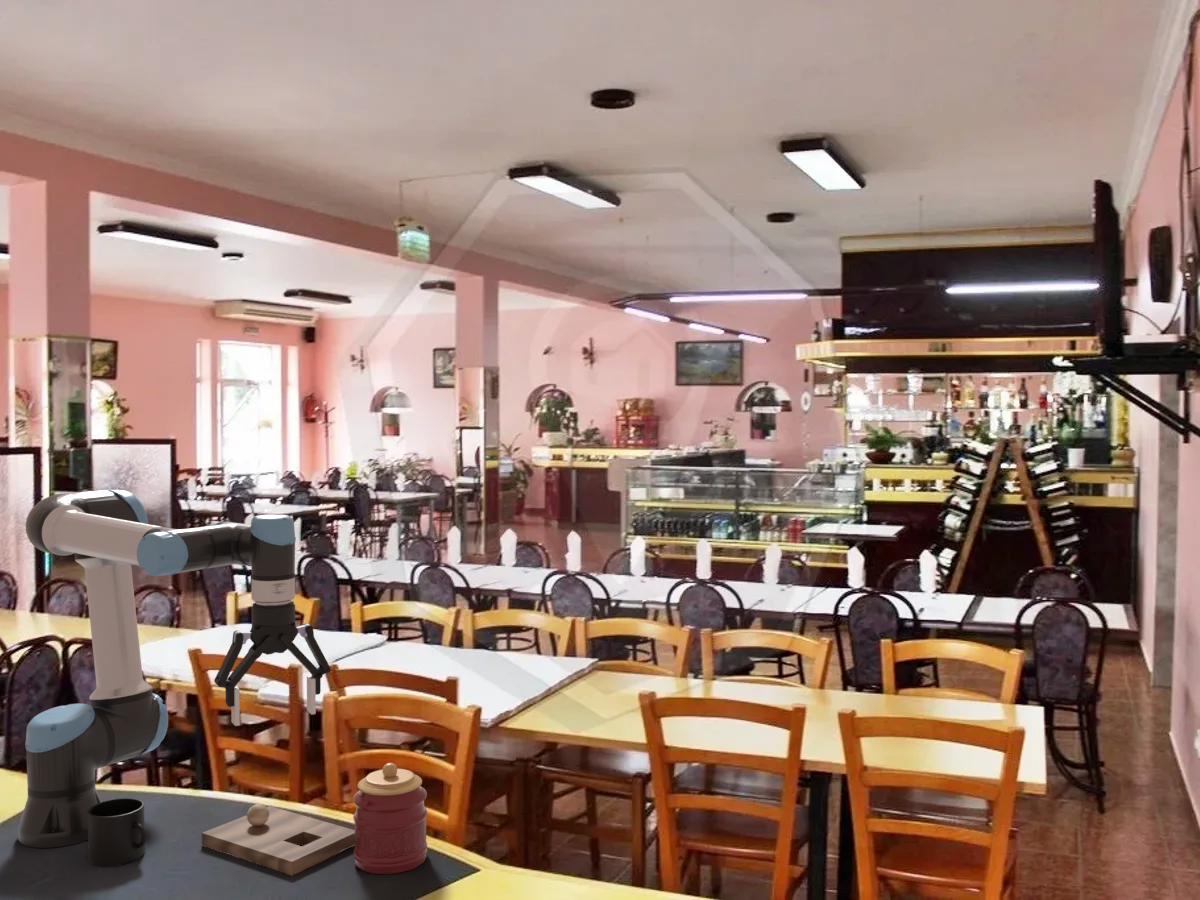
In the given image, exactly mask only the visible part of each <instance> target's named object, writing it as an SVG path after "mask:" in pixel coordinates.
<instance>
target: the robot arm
mask: <svg viewBox="0 0 1200 900" xmlns="http://www.w3.org/2000/svg"><path fill="white" fill-rule="evenodd" d="M25 532H26V533H25V534H26V536H27V538H28V540H29V542H30V544H31V545H32V546H34V547H35V548H36V549H38V550H39V551H41V552H43V553H46V554H50V555H51V554H52V555H56V556H61V557H62V556H63V557H64V556H65V557H66V556H71V555H73V554H74V561H75V562H76V563H77V564H78V565H80V566H82V567H83V568H84V574H85V586H86V596H87V605H88V614H89V624H90V625H89V626H90V634H91V643H92V652H93V662H94V672H95V674H94V675H95V682H96V687H95V690H94V691H93V692H92V693H91V694H90V695H89V704H86V703H78V702H77V703H69V704H66V705H59V706H55V707H51V708H49V709H46V710H44V711H41V712H40V713H38V714H37V715H35V716H34V717H32V718H31V720H30V721H29V722H28V724H27V726H26V735H25V742H24V745H25V749H26V750H25V751H26V776H27V779H26V781H27V798H26V803H25V805H24V809H23V812H22V815H21V819H20V821H19V824H18V829H17V830H18V831H17V832H18V833H17V834H18V838H17V839H18V842H19V844H21V845H23V846H26V847H30V848H43V849H44V848H58V847H65V846H71V845H74V844H78V843H81V842H85V841H88V818H87V812H88V810H89V809H90V808H91V807H92V806H94V805H96V804H98V803H101V802H102V801H101V799H100V796H99V794H98V791H97V788H96V770H98V769H100V768H104V767H107V766H109V765H113V764H116V763H119V762H122V761H125V760H129V759H133V758H140V757H141V756H143V755H145V754H146V753H150V752H151V751H154V750H155V749H157V748H158V747H159V746H160V745H161V742H162V741H163V740H164V739H165V736H166V734H167V731H168V726H169V713H168V709H167V705H166V704H165V703H164V700H163V699H162V697H160V696H159V695H158V694H156V693H153V685H151V684H150V683H148V682H146V681H145V680H144V678H143V668H142V666H143V665H142V659H141V658H142V657H141V651H140V650H141V648H140V639H139V638H140V637H139V629H138V619H137V610H136V609H137V608H136V600H135V592H134V591H135V590H134V581H133V579H134V578H133V570H132V565H133V566H138V567H140V569H141V570H143V571H144V572H145V574H147V575H148V576H152V577H158V576H159V577H160V576H162V577H163V576H165V577H166V576H169V577H170V576H173V575H176V574H181V573H186V572H191V571H192V572H193V571H198V570H199V571H200V570H205V569H211V568H218V567H224V566H225V567H226V566H231V565H239V566H247V567H250V568H251V575H250V579H251V598H250V599H251V601H253V603H252V604H251V629H250V630H249V631H240V630H237V629H236V630H234V631H233V632H232V640H231V645H230V647H229V649H228V651H227V653H226V655H225V656H224V659H223V662H222V664H221V665H220V667H219V669H218V671H217V674H216V676H215V678H214V681H213V682H214V683H215V685H217V687H219V688H224V689H225V704H226V706H227V707H228V708H230V709H231V710H230V711H231V712H230V714H231V716H230V718H231V723H232V724H233V726H235V727H237V726H240V723H241V722H240V721H241V720H240V718H241V717H240V710H241V709H240V705H241V703H240V702H241V701H240V688H239V687H238V686H237V685H238V684H239V683H240V681H241V680H242V678H244V677H245V675H246V674H247V672H248V671H249V670H250V668H252V666H253V664H254V663H255V662H256V661H257V660H258V659H259V658H260V657H261V656H262V654H265V655H272V654H275V653H277V654H283V653H285V652H286V651H287V650H288V651H289V653H291V654H292V655H293V657H295V659H296V660H298V662H299V663H301V665H302V666H304V668H305V669H306V670H307V671H308V672H309V673H310V674H311V675H306V711H307V713H309V714H310V715H316V713H317V712H316V707H317V706H316V701H317V700H316V698H317V697H316V695H318V696H319V695H320V693H321V690H322V689H321V685H322V684H321V679H322V678H323V675H325V674H329V673H330V672H332V668H331V666H330V664H329V663H328V660H327V659H326V657H325V655H324V653H323V651H322V649H321V647H320V645H319V644H318V642H317V639H316V638H315V635H314V628H313V625H311V624H309V623H307V622H305V623H303V624H302V625H299V626H296V603H295V601H293V600H294V599H295V597H296V591H295V590H296V577H295V576H296V573H295V572H296V540H297V538H296V530H295V522H294V519H293V517H291V516H289V515H287V514H273V513H272V514H260V515H256V516H253V517H252V518H251V520H250V524H247V523H242V522H234V521H232V520H231V521H229V520H226V521H215V522H211V523H210V524H208V525H205V526H198V527H197V526H196V527H190V528H189V527H188V528H181V529H179V528H171V527H169V528H168V527H163V526H161V525H155V524H149V521H148V515H147V511H146V509H145V507H144V505H143V504H142V502H141V500H140V499H139V498H137V497H136V495H135V494H133V493H131V492H130V491H127V490H123V489H102V490H92V491H91V490H90V491H82V492H70V493H58V494H57V493H56V494H53V495H49V496H48V497H45V498H43V499H41V500H39V501H38V502H37V503H36V504H35V505H34V506H33V507H32V508H31V509H30V511H29V513H28V514H27V518H26V521H25ZM298 635H300V636H301V637H302V638H304V641H305V642H306V644H307V646H308V648H309V650H310V652H311V653H312V656H313V657H314V659H315V661H316V663H317V665H318V667H316V666H315V665H314V663H312V662H311V661H310V660H309V659H308V657H307V656H306V655H305V654H304V653H303V652H302V651H301V649H299V647H298V646H297V645H296V644H295V643H294V641H295V639H296V637H297V636H298ZM248 640H251V642H252V643H253V644H252V645H251V646H250V648H249V649H248V651H247V653H246V654H245V655H244V657H243V658H242V659H241V660H240V662H239V663H238V664H237V666H236V667H235V668H234V669H233V667H234V665H235V663H236V661H237V659H238V657H239V655H240V652H241V651H242V649H243V645H245V644H246V643H247V641H248ZM232 670H233V671H232ZM163 703H164V704H163Z"/></svg>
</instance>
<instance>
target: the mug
mask: <svg viewBox="0 0 1200 900" xmlns="http://www.w3.org/2000/svg"><path fill="white" fill-rule="evenodd" d="M87 818H88V840H87V849H88V857H87V858H88V862H89V863H90V864H91V865H93V866H96V867H117V866H122V865H125V864H129V863H132V862H134V861H136V860H139V859H141V858H142V857H143V855H144V854H145V852H146V843H147V832H146V830H145V829H146V828H145V826H146V824H145V821H146V819H145V803H144V801H142V800H140V799H137V798H125V797H124V798H115V799H110V800H105V801H101V803H98V804H96V805H94V806H92V807H91V808H90V809H89V810H88V812H87Z"/></svg>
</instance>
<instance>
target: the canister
mask: <svg viewBox="0 0 1200 900" xmlns="http://www.w3.org/2000/svg"><path fill="white" fill-rule="evenodd" d="M422 784H423V779H422V778H421V776H419V775H417V774H415V773H414V772H412V771H411V770H408V769H405V768H404V769H403V768H398V767H397V765H396V764H395V763H393V762H387V763H385V764H384V765H383V767H382V769H378V770H375V771H372V772H369V773H368V774H367V775H366V777H363V778H362V779H360V780H359V781H358V784H357V789H359V790H358V791H357V792H356V793H355V794H354V795H353V798H352V801H353V803H354V804H355V805H356V809H355V810H356V811H355V812H354V814H353V817H352V818H353V821H354V830H355V846H354V847H353V857H354V861H355V865H356V867H357V868H358V869H360V870H361V871H364V872H367V873H369V874H378V875H379V874H380V875H391V874H399V873H400V874H401V873H405V872H407V871H410V870H413V869H416V868H417V867H419V866H421V865H422V864H423V863H424V862H425V861H426V859H427V853H428V841H427V815H428V809H427V808H426V807H425V800H426V798H427V795H428V792H427V790H426V789H425V787H422V786H421V785H422Z"/></svg>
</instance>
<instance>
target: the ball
mask: <svg viewBox="0 0 1200 900" xmlns="http://www.w3.org/2000/svg"><path fill="white" fill-rule="evenodd" d="M267 807H268V806H266V805H264V804H263V803H256V804H254V805H252V806H250V808H249V809H248V811H247V814H246V815H247V819H248V822H249V823H250V824H251V825H253V826H261V825H263V824H265V823H266V822H267V820H268V818H269V810H268V808H267Z"/></svg>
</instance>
